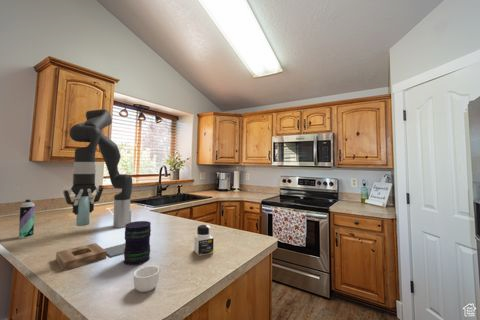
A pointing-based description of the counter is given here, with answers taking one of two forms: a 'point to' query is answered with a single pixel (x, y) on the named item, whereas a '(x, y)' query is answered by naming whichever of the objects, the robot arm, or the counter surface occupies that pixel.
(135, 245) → the storage jar
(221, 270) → the counter surface
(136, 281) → the teacup
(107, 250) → the mat
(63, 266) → the pocket block
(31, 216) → the spray can
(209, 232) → the medicine bottle
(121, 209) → the robot arm
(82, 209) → the peg
